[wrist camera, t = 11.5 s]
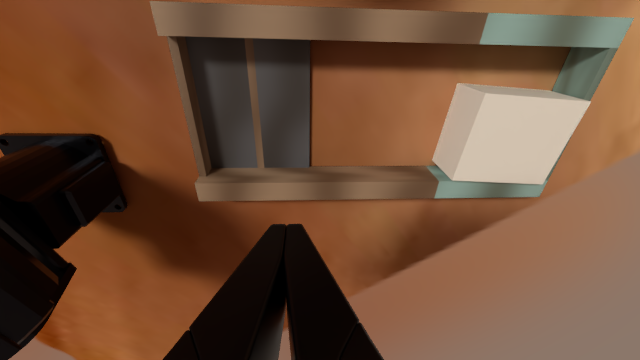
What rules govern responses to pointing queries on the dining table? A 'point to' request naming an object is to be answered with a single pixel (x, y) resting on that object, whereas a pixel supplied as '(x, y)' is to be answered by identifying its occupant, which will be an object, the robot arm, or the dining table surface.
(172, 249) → the dining table surface
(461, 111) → the ivory block
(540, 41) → the box
